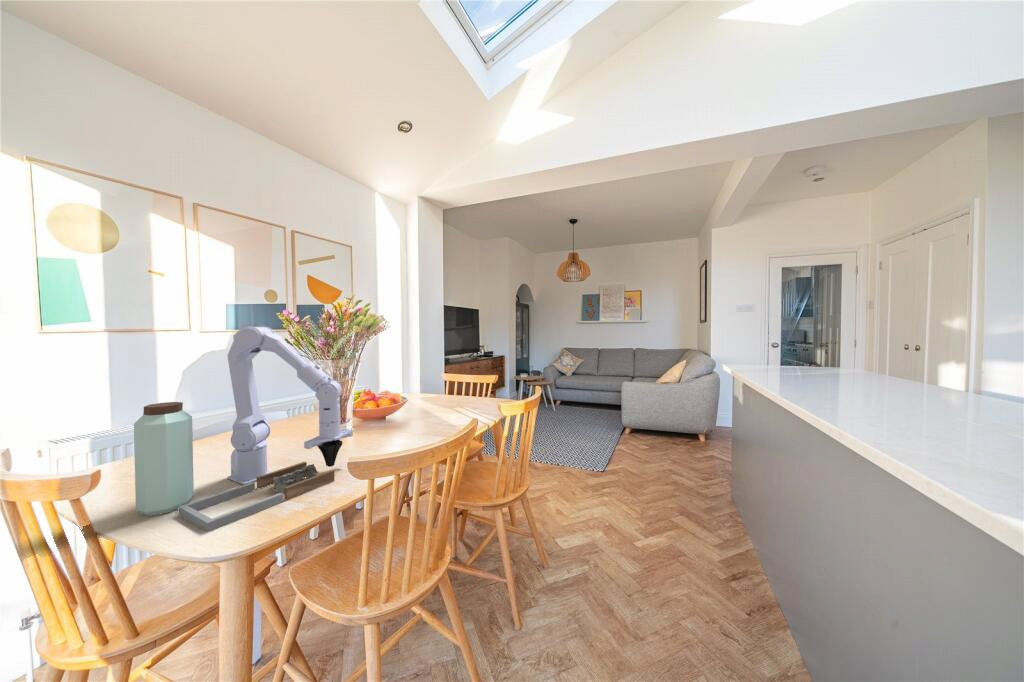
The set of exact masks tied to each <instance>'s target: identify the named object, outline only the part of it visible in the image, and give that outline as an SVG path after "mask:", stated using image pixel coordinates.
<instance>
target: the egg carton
mask: <svg viewBox="0 0 1024 682" xmlns="http://www.w3.org/2000/svg"><path fill="white" fill-rule="evenodd" d="M319 474H320V472H319V470H318V471H317V468H316V466H315V464H314V463H313V464H308V465H307V466H305V467H302V469H301V470H296V471H295V472H293V473H288V474H285V475H283V476H281V477H274V478H273V480H274V484H273V488H276V489H275V492H279V493H282V492H283V493H282V494H284V487H287V486H289V485H292V484H295V483H297V482H300V481H303V480H306V479H308V478H311V477H314V476H316V475H319ZM305 477H306V478H305Z"/></svg>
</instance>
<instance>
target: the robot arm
mask: <svg viewBox="0 0 1024 682" xmlns="http://www.w3.org/2000/svg"><path fill="white" fill-rule="evenodd" d="M232 337H233V342H232V344H231V346H230V348H229V350H228V353H227V362H228V367H229V374H230V380H231V382H230V383H231V387H232V393H233V394H232V395H233V400H234V406H235V412H236V418H235V420H234V422H233V424H232V426H231V427H232V433H231V436H230V444H231V446H232V447H233V448H234V449H233V450H232V452H231V454H230V475H228V476H227V477H226V478H227V479H228V480H230V481H234V482H236V483H238V484H240V485H245V484H248V483H251V482H254V483H255V482H257V477H258V476H262V475H265V474H268V473H271V472H272V471H268V448H267V447H268V444H267V438H268V437H269V436H270V435H271V431H272V430H271V427H270V425H269V423H268V422H267V421H266V417H265V415H264V414H263V413H262V412H261V411H260V404H259V398H258V392H257V385H256V380H255V371H254V366H253V359H254V358H255V357H257V355H258V354H259V353H260V352H262V351H263V352H271V353H274V354H276V356H278V357H279V358H280V359H282V360H283V361H285V362H286V363H287V364H288V365H289V366H291V367H292V368H293V369H295V370H296V376H297V378H298V379H299V380H300V381H301V382H303V383H304V385H306V386H307V387H308V388H309V389H311V391H312V392H314V393H315V398H316V399H317V400H318V436H316V437H313V438H311V439H308V440H305V441H303V446H304V449H307V450H311V449H312V448H314V447H315V448H316V447H317V448H318V450H320V453H321V455H322V456H323V459H324V460H323V461H324V463H325V465H326V467H329V468H330V467H334V466H335V464H336V459H337V457H338V453H339V451H340V449H341V447H342V446H343V440H342V439H345V438H348V437H354V430H353V429H345V430H341V403H340V400H341V399H340V398H341V397H340V395H341V394H342V392H343V387H342V385H341V384H340V382H339V381H337V380H336V379H333V377H332V376H329V375H327V374H326V373H325V372H324V371H323V370H322V369H321V367H322V366H321V365H319V364H315V363H313V362H306V360H305V359H303V357H302V356H300V355H299V354H298V352H297V351H295V350H294V349H293V348H292V347H291V346H290V345H289V344H288V343H287V341H285V340H284V338H283V337H282V336H281V335H280V334H278V332H275V331H274V330H273V328H270V327H267V326H251V325H250V326H248V325H246V326H244V327H242V328H240V329H239V330H238V331H237V332H236V333H234V334H233V335H232Z"/></svg>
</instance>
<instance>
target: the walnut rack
mask: <svg viewBox="0 0 1024 682" xmlns="http://www.w3.org/2000/svg"><path fill="white" fill-rule="evenodd" d="M307 464H308V463H307V462H306V461H302V462H299V463H296V464H293V465H289V466H287V467H283V468H281V469H277V470H274V471H270V472H271V473H268V474H265V475H262V476H258V477H257V481H256V488H257V489H258V488H260V489H263V488H265V486H266V487H268V486H267V485H269V486H271V485H270V484H272V485H274V484H273V483H274V480H273V478H274V477H281V476H283V475H285V474H288V473H293V472H295V471H296V470H301V469H302V467H305V466H308V465H307ZM330 482H331V483H333V482H335V470H333V469H330V470H328V471H324V472H322V473H319V475H316V476H314V477H311V478H308V479H306V480H303V481H300V482H297V483H295V484H292V485H289V486H287V487H284V493H283V500H286V501H289V500H291V499H294V498H296V497H298V495H299V496H301V495H304V494H305V493H308V492H311V491H314V490H315V489H318V488H321V487H323V486H325V485H328V484H331V483H330ZM262 487H263V488H262ZM303 493H304V494H303ZM293 497H294V498H293Z"/></svg>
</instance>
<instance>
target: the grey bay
mask: <svg viewBox="0 0 1024 682" xmlns="http://www.w3.org/2000/svg"><path fill="white" fill-rule="evenodd" d="M253 490H255V491H256V482H255V481H254V482H251V483H248V484H245V485H243V484H241V485H240V486H238V487H234V488H231V489H228V490H224V491H222V492H220V493H215V494H212V495H210V496H207V497H204V498H200V499H197V500H194V501H192V502H191V501H190V502H188V503H187V504H185V505H182V506H179V509H178V516H179V515H180V517H181V518H183V519H184V518H185V520H186V521H188V522H189V523H191V524H193V525H195V526H197V527H198V528H200V529H202V530H203V531H205V532H207V533H210V532H211V531H214V529H215V530H216V529H219V527H220V528H222V527H224V526H226V525H230V524H231V523H234V522H237V521H240V520H241V519H244V518H246V517H249V516H251V515H253V514H257V513H259V512H261V511H264V510H266V509H268V508H270V507H271V508H272V507H274V506H276V505H278V504H281V503H283V502H284V493H282V492H279V493H277V494H273V495H271V496H268V497H266V498H263V499H261V500H259V501H255V502H253V503H250V504H247V505H245V506H242V507H239V508H237V509H234V510H231V511H229V512H226V513H223V514H221V515H219V516H216V517H215V516H214V517H213V518H211V517H210V516H208V515H206V514H204V513H202V512H200V511H201V510H204V509H205V508H206V507H207V508H209V506H210V507H212V506H215V505H218V504H221V503H224V502H226V501H229V500H231V499H236V498H238V497H240V495H241V496H243V495H246V494H249V493H252V492H254V491H253ZM251 491H252V492H251ZM248 492H249V493H248ZM245 493H246V494H245ZM242 494H243V495H242ZM237 496H238V497H237ZM223 501H224V502H223ZM220 502H221V503H220ZM207 508H206V509H207Z"/></svg>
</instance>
